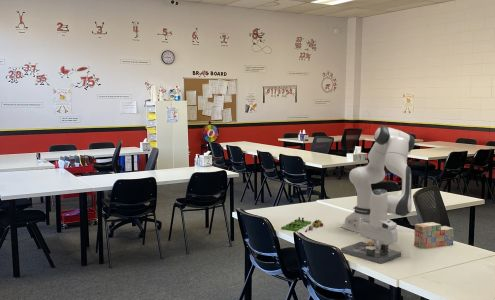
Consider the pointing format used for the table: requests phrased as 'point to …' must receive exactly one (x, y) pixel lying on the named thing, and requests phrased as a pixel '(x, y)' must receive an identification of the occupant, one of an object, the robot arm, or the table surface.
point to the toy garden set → (301, 225)
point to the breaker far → (384, 246)
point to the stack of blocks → (432, 235)
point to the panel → (378, 257)
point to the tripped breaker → (370, 244)
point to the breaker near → (370, 250)
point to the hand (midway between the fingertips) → (377, 248)
